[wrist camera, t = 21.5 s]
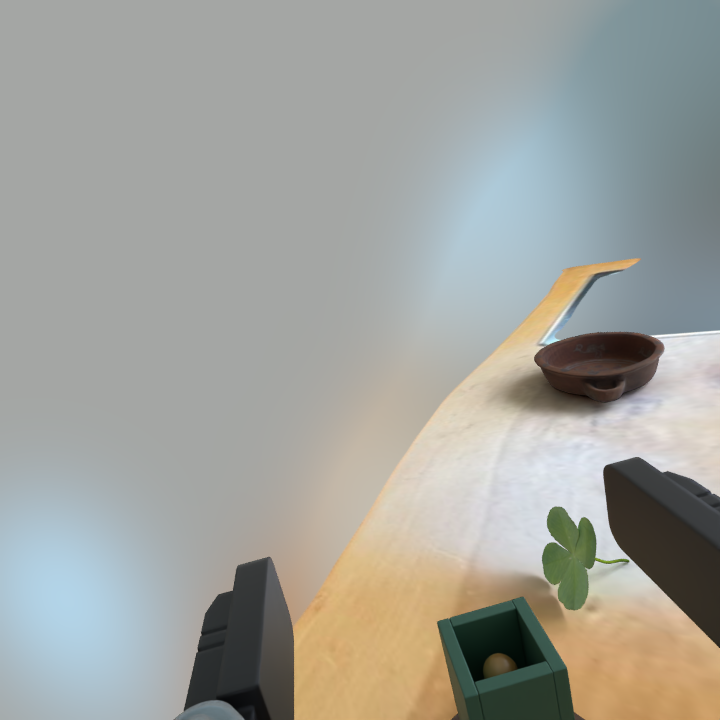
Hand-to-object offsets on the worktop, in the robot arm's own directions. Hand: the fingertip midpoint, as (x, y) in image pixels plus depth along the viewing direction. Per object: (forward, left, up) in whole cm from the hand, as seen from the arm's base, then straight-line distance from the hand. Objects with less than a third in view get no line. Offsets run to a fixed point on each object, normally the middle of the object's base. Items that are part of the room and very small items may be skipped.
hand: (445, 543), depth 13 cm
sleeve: (+8, +8, -24) cm, 26 cm away
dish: (+62, +36, -25) cm, 76 cm away
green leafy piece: (+24, +14, -25) cm, 38 cm away
